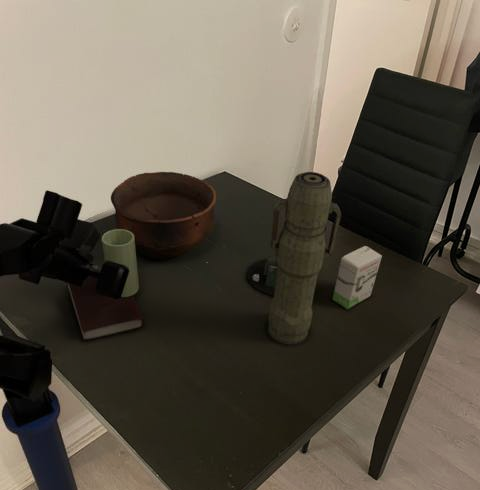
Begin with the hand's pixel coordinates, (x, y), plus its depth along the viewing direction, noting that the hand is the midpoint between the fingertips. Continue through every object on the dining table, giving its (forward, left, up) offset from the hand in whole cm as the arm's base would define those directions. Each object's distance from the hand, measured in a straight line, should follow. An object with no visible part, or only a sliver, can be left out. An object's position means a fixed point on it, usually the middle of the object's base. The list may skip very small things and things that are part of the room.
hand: (100, 278), depth 100 cm
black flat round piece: (+41, -7, -11) cm, 43 cm away
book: (+1, +4, -11) cm, 12 cm away
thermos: (+31, -23, -11) cm, 40 cm away
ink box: (+51, -22, -11) cm, 57 cm away
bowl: (+24, +18, -11) cm, 32 cm away
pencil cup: (+6, +4, -8) cm, 11 cm away
